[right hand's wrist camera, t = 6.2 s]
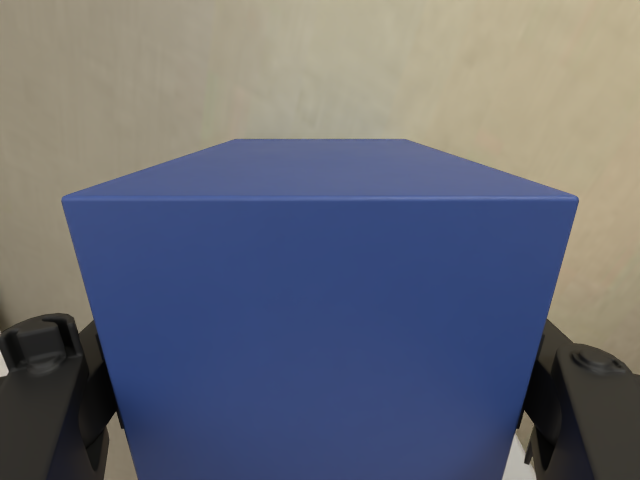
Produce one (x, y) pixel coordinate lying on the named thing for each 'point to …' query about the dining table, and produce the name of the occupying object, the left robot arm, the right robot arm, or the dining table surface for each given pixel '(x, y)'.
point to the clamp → (518, 464)
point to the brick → (320, 308)
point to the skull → (3, 366)
